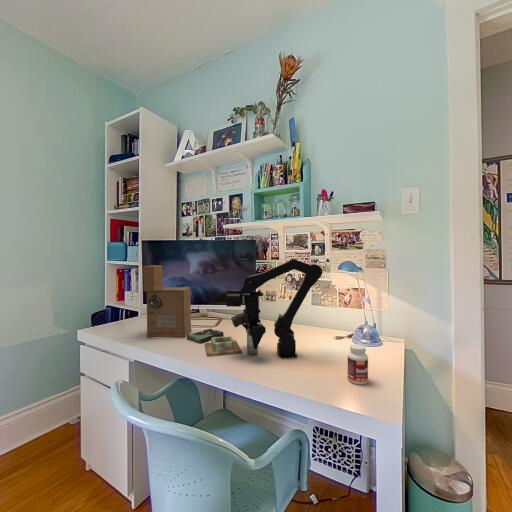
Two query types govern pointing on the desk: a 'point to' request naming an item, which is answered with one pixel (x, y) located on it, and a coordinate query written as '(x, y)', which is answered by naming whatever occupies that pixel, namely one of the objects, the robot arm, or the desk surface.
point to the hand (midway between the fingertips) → (252, 345)
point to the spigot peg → (251, 346)
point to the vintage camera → (166, 306)
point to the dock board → (222, 346)
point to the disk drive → (204, 335)
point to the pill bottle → (357, 364)
